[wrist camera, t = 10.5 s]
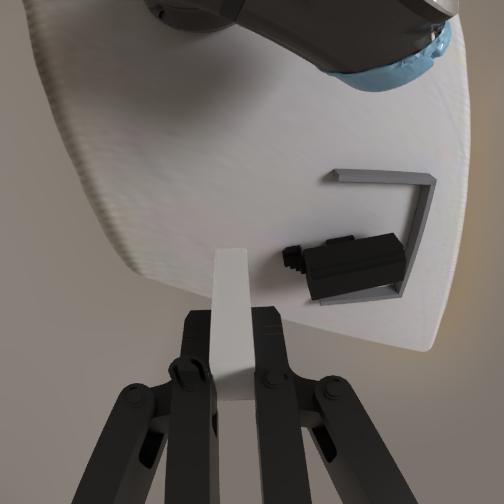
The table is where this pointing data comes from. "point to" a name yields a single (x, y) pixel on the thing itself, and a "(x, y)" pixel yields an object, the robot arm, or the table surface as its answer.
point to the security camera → (349, 264)
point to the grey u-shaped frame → (415, 234)
